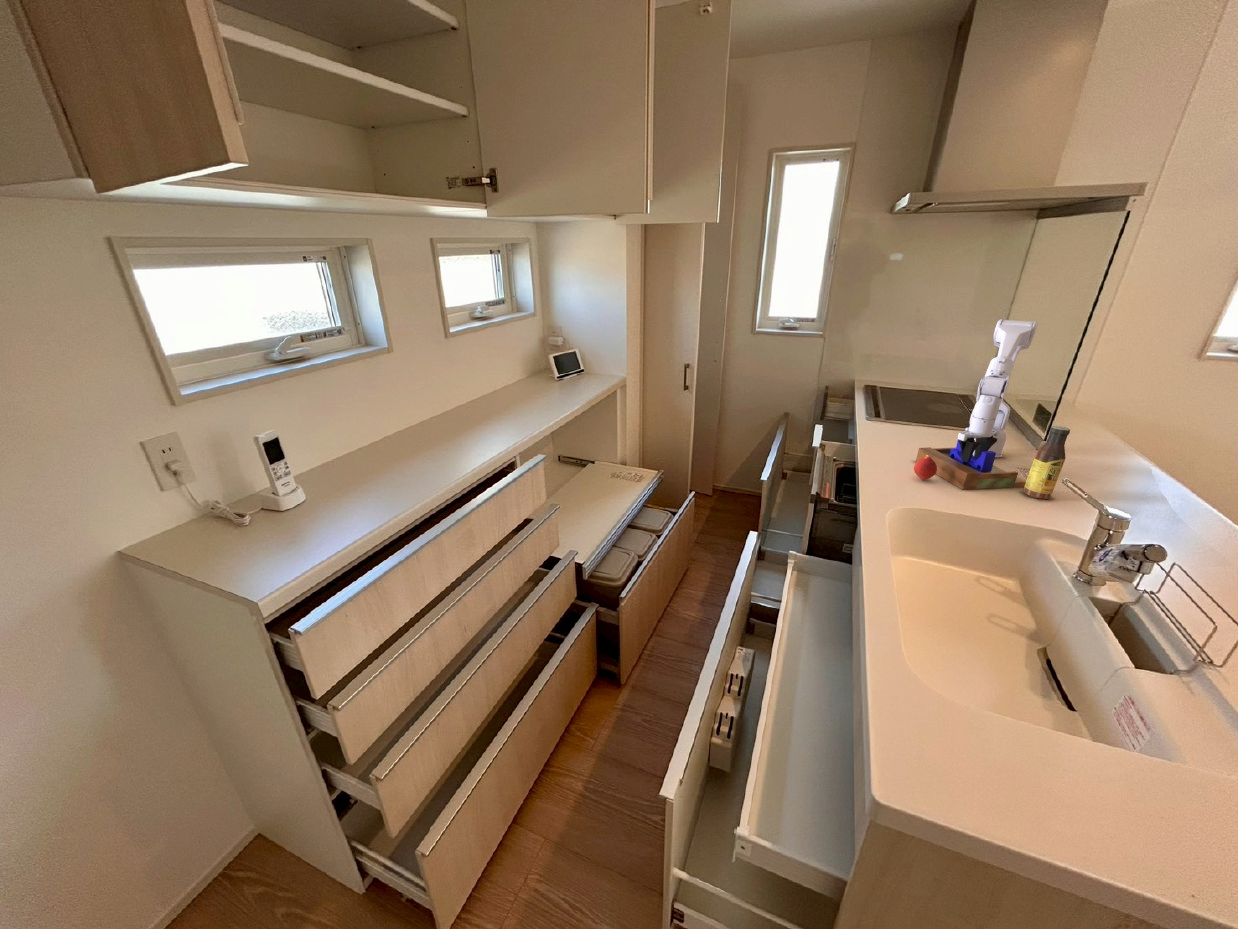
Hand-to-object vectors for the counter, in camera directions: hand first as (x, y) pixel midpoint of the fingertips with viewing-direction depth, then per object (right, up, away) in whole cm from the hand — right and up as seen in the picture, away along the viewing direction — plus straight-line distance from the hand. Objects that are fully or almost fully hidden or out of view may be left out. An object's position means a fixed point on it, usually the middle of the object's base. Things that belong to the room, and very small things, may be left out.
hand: (971, 459), depth 152 cm
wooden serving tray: (0, -4, +2) cm, 5 cm away
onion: (-17, -6, -2) cm, 18 cm away
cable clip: (0, -2, +1) cm, 2 cm away
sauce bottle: (+10, -10, -12) cm, 19 cm away
